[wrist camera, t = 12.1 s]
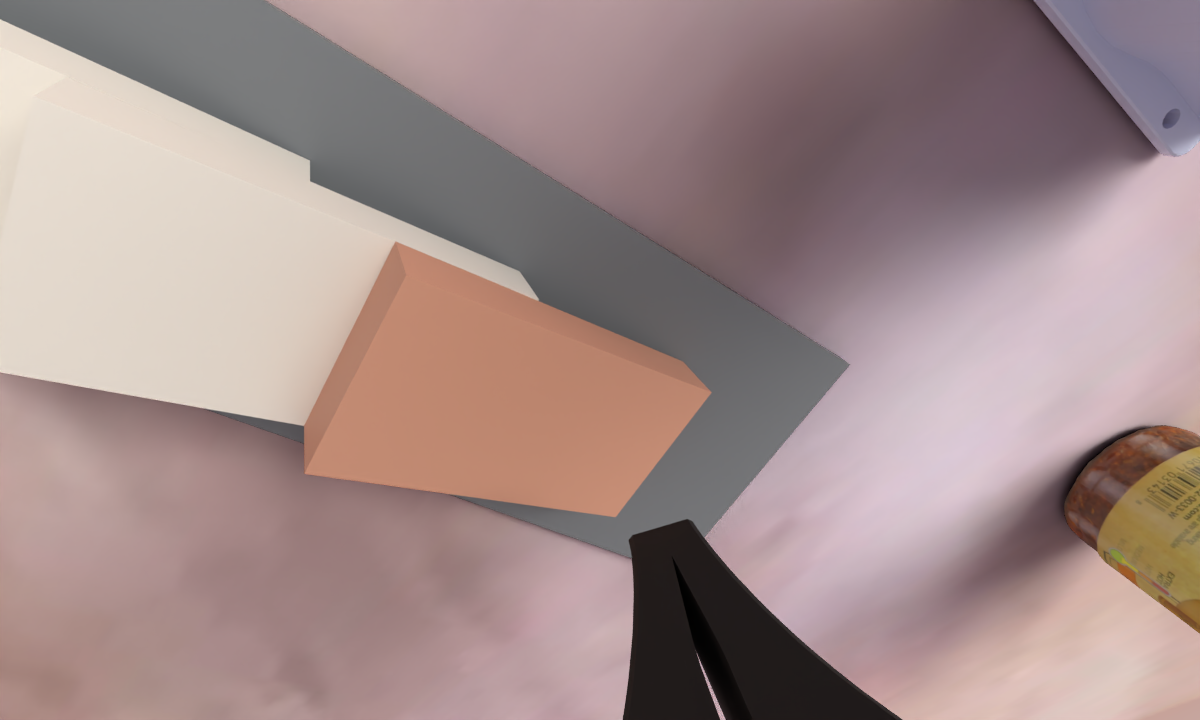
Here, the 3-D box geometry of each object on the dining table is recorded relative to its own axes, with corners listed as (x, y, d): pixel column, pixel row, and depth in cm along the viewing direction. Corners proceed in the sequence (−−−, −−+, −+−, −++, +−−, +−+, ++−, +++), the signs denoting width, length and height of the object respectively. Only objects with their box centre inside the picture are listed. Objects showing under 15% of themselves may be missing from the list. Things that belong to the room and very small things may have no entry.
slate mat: (843, 359, 18) (849, 364, 18) (671, 564, 21) (674, 573, 21) (-699, -599, 7) (-758, -632, 7) (-600, 113, 10) (-638, 114, 10)
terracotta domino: (595, 480, 18) (304, 425, 13) (682, 361, 17) (395, 241, 11) (615, 517, 17) (303, 474, 12) (711, 392, 16) (406, 274, 10)
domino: (539, 299, 13) (32, 95, 8) (448, 451, 15) (-28, 367, 10) (519, 271, 15) (66, 76, 9) (437, 414, 16) (7, 321, 11)
